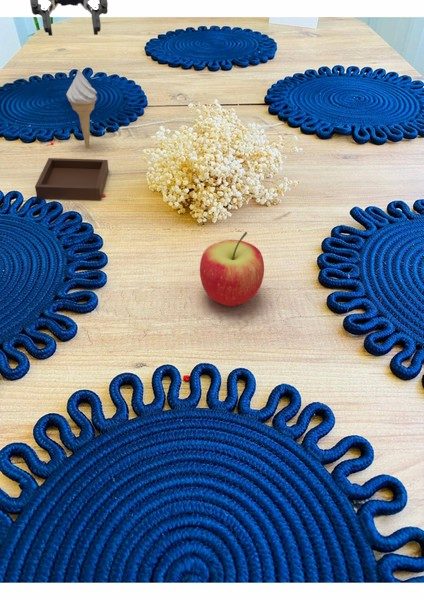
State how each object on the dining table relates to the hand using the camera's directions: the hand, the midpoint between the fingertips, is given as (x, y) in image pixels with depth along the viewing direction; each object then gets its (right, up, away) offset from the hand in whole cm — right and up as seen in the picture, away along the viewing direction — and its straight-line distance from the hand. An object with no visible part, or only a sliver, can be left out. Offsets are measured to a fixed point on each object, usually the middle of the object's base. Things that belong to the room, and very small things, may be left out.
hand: (73, 33), depth 101 cm
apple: (+29, -51, -30) cm, 66 cm away
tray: (+2, -31, -8) cm, 32 cm away
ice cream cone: (+2, -21, +4) cm, 21 cm away
